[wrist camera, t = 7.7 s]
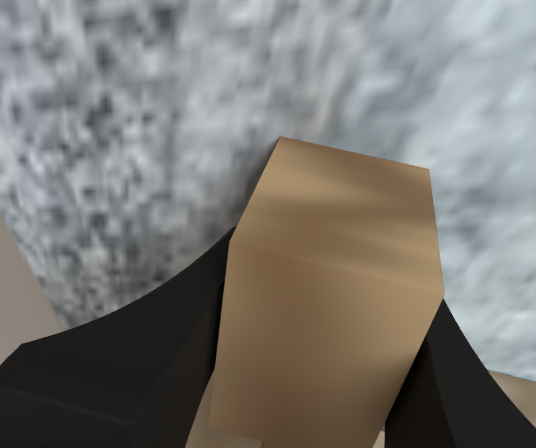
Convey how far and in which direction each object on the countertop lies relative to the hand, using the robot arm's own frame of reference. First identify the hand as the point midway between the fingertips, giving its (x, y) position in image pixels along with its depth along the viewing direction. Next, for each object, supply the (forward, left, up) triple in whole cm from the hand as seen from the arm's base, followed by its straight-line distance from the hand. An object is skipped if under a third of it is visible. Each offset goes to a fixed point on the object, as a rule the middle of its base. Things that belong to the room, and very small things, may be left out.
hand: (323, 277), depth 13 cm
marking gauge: (0, +3, -2) cm, 3 cm away
